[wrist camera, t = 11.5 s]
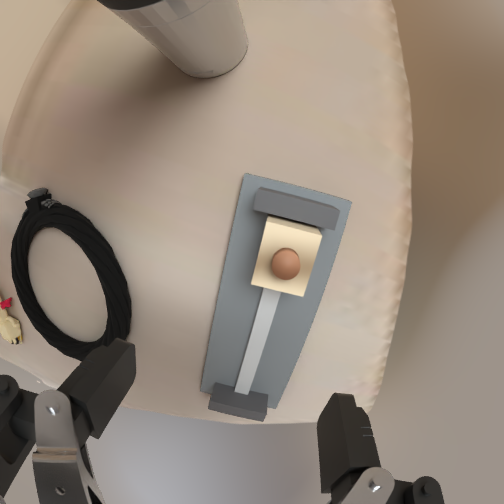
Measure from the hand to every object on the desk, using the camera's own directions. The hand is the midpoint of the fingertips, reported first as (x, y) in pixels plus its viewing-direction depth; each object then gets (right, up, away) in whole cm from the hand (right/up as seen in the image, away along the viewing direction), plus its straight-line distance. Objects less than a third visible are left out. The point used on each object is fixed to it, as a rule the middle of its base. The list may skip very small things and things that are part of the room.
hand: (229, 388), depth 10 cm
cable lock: (-30, +1, +28) cm, 41 cm away
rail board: (+2, -2, +25) cm, 25 cm away
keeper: (+4, +6, +20) cm, 21 cm away
